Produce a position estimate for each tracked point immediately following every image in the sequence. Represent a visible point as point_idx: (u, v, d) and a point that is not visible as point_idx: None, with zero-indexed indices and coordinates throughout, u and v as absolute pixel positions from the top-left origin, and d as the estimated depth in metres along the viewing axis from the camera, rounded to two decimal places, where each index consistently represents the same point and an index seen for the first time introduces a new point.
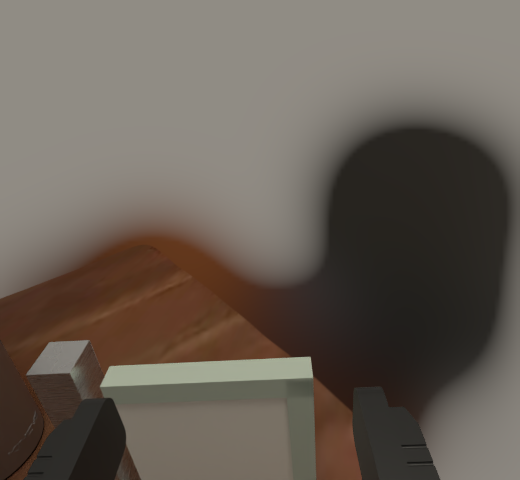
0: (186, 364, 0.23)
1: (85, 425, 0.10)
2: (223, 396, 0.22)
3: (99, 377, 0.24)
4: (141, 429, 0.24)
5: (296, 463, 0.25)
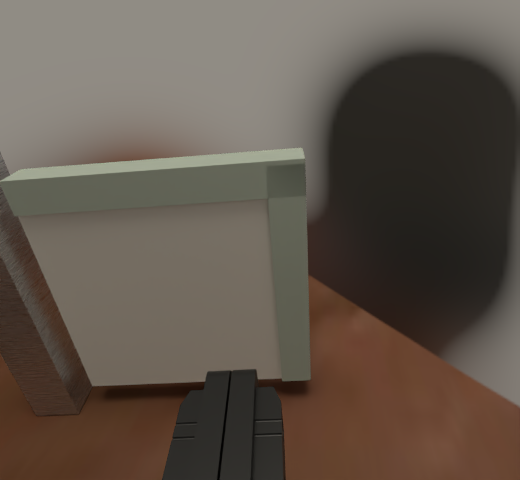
0: (127, 162, 0.16)
1: (219, 394, 0.10)
2: (177, 197, 0.16)
3: None
4: (68, 264, 0.18)
5: (283, 320, 0.19)
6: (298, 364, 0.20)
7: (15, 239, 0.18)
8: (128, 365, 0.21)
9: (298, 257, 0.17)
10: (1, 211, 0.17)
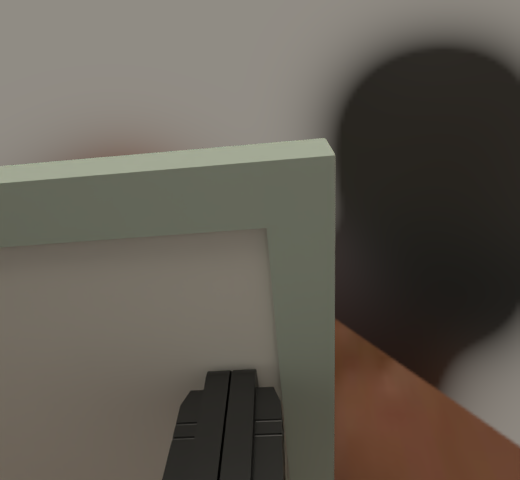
0: (26, 165, 0.10)
1: (219, 394, 0.10)
2: (106, 227, 0.09)
3: None
4: None
5: (293, 414, 0.12)
6: (315, 472, 0.13)
7: None
8: (60, 471, 0.14)
9: (319, 323, 0.10)
10: None
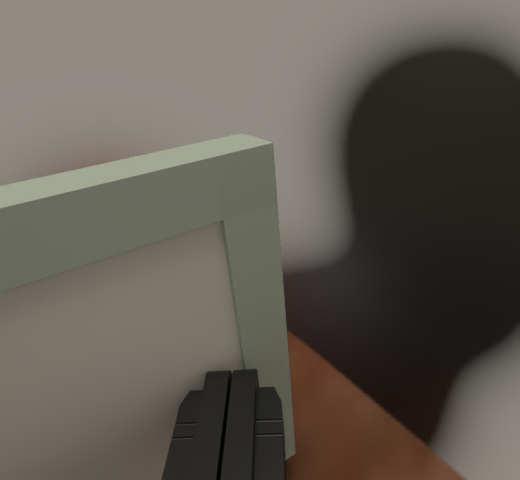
0: None
1: (218, 394, 0.10)
2: (53, 259, 0.08)
3: None
4: None
5: None
6: None
7: None
8: None
9: (272, 298, 0.11)
10: None
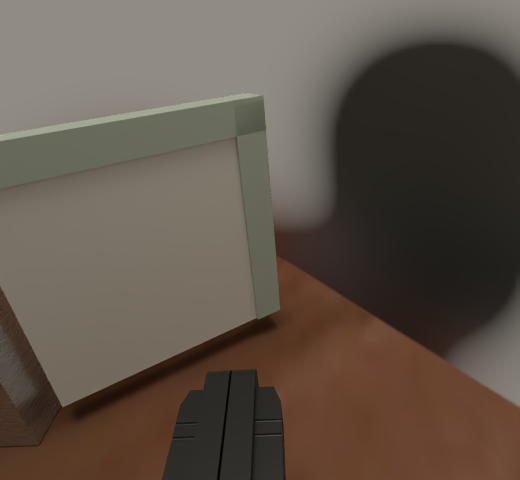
0: (84, 120, 0.15)
1: (219, 394, 0.10)
2: (156, 146, 0.16)
3: None
4: (29, 251, 0.15)
5: (255, 256, 0.21)
6: (269, 296, 0.23)
7: None
8: (107, 361, 0.19)
9: (263, 189, 0.19)
10: None
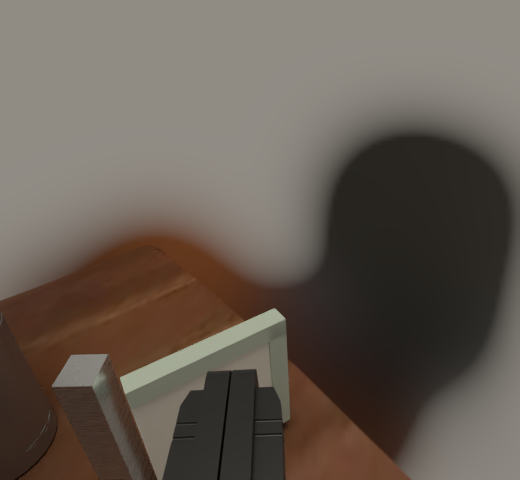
0: (188, 348, 0.28)
1: (219, 394, 0.10)
2: (226, 359, 0.28)
3: (116, 387, 0.26)
4: (158, 421, 0.27)
5: None
6: (284, 413, 0.35)
7: (119, 417, 0.26)
8: None
9: (283, 361, 0.32)
10: (113, 405, 0.26)
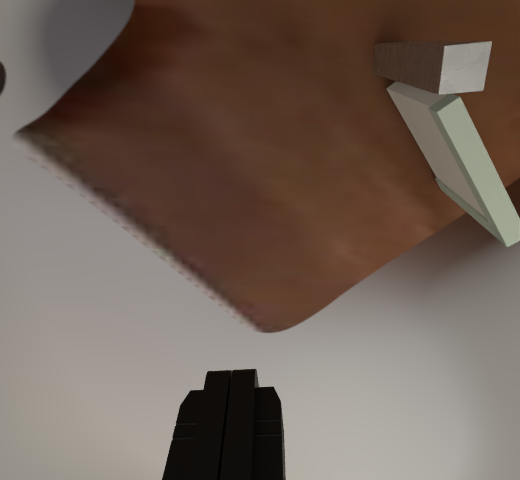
0: (487, 158, 0.26)
1: (219, 394, 0.10)
2: (472, 189, 0.28)
3: None
4: (424, 116, 0.29)
5: (454, 195, 0.36)
6: (443, 189, 0.39)
7: None
8: (403, 113, 0.35)
9: (476, 218, 0.33)
10: None
